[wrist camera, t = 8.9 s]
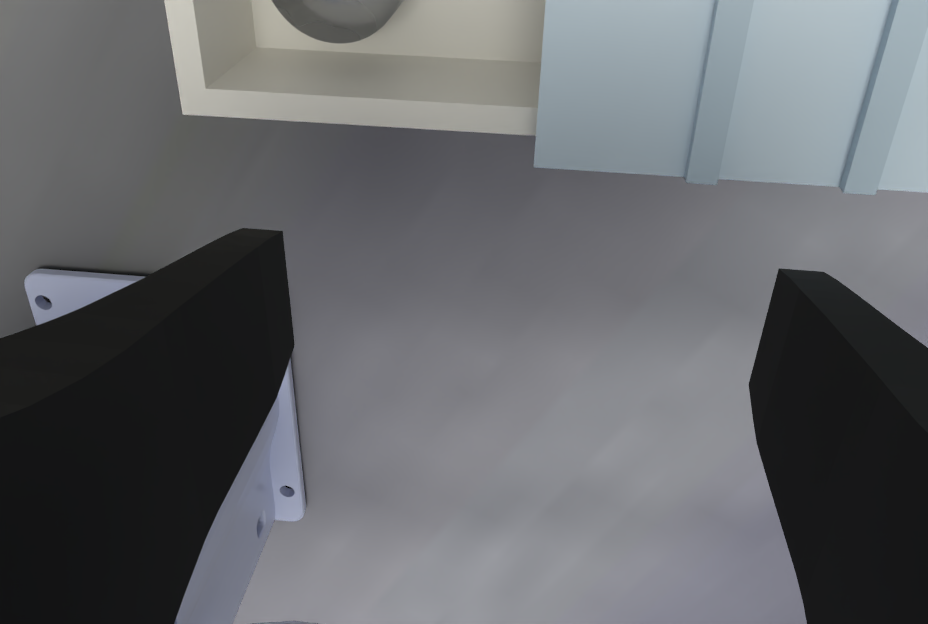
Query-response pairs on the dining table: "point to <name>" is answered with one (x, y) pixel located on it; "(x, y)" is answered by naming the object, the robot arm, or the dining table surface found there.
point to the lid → (738, 91)
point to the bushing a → (337, 17)
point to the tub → (364, 66)
